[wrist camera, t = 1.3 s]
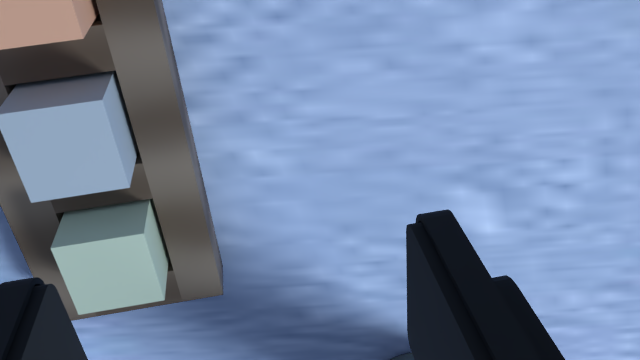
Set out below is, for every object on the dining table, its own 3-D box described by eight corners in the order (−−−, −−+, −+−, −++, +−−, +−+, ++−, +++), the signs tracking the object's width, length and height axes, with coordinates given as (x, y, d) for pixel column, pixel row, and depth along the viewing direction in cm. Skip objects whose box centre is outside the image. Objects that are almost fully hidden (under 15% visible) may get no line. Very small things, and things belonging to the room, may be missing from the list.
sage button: (67, 202, 36) (50, 248, 32) (151, 189, 36) (143, 233, 32) (92, 265, 38) (78, 314, 35) (169, 253, 39) (164, 300, 35)
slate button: (20, 79, 31) (-6, 115, 28) (115, 66, 32) (102, 99, 28) (51, 160, 34) (31, 202, 30) (138, 147, 34) (129, 187, 31)
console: (-127, -152, 27) (-162, -149, 24) (121, -177, 27) (111, -177, 25) (64, 292, 41) (54, 323, 38) (222, 265, 42) (223, 294, 39)
